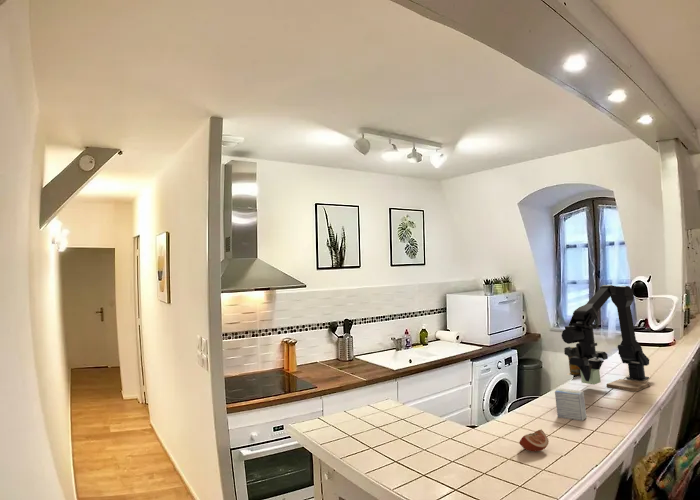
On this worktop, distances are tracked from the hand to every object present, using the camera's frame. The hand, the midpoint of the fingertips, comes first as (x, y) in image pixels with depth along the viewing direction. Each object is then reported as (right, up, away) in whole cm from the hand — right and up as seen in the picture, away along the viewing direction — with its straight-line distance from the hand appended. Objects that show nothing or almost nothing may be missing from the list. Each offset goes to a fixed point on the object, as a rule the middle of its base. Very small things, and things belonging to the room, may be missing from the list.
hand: (590, 379), depth 175 cm
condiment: (+9, -5, +25) cm, 27 cm away
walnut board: (+15, -3, 0) cm, 15 cm away
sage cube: (0, -1, 0) cm, 1 cm away
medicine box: (-24, -3, -31) cm, 39 cm away
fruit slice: (-46, -3, -56) cm, 72 cm away
